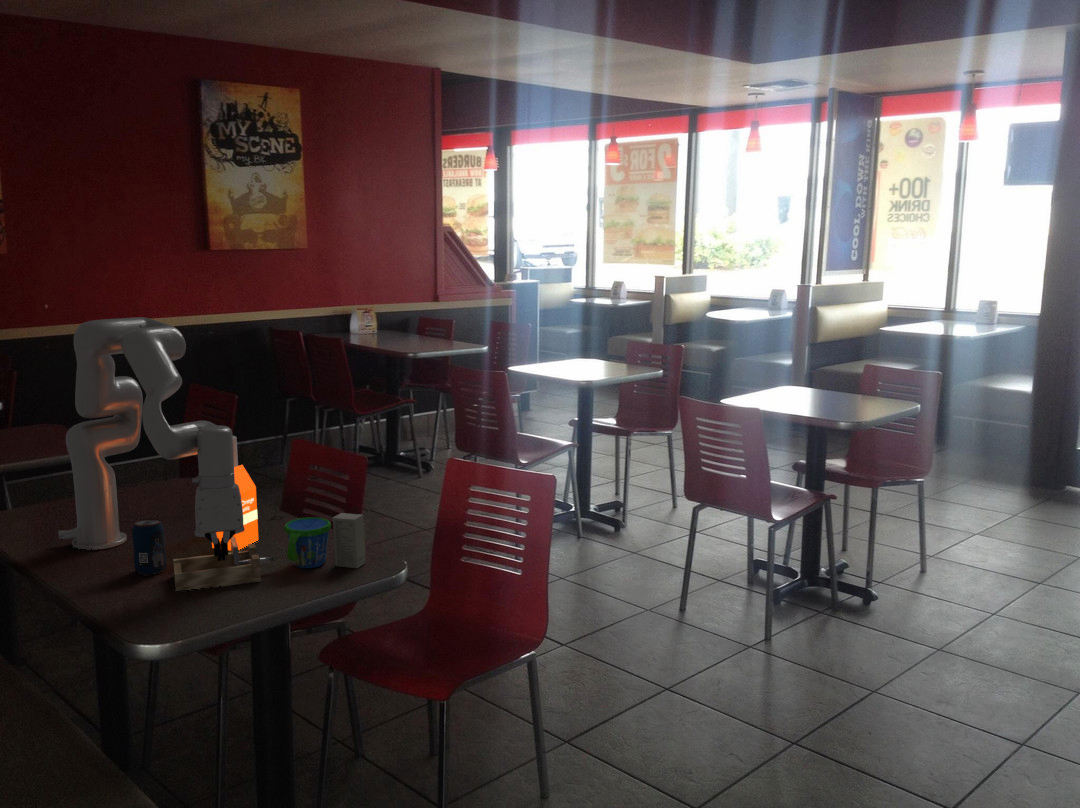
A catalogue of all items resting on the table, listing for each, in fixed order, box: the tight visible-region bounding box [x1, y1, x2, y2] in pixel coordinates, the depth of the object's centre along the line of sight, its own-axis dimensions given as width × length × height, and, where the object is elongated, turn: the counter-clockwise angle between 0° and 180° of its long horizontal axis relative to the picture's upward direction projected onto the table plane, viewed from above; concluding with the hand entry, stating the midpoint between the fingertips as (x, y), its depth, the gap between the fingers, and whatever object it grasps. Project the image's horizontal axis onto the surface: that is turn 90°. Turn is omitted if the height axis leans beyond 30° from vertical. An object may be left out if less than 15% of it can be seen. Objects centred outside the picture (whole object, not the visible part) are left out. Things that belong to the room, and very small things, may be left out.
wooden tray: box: [172, 543, 262, 592], centre depth 211 cm, size 18×12×6 cm, turn 113°
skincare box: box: [332, 512, 367, 569], centre depth 220 cm, size 6×4×12 cm
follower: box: [230, 536, 275, 566], centre depth 214 cm, size 9×8×7 cm
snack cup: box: [283, 516, 332, 569], centre depth 221 cm, size 16×10×10 cm
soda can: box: [131, 517, 168, 575], centre depth 216 cm, size 7×7×12 cm
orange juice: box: [211, 464, 259, 552], centre depth 234 cm, size 8×9×20 cm
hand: (221, 558), depth 211 cm, fingers closed
